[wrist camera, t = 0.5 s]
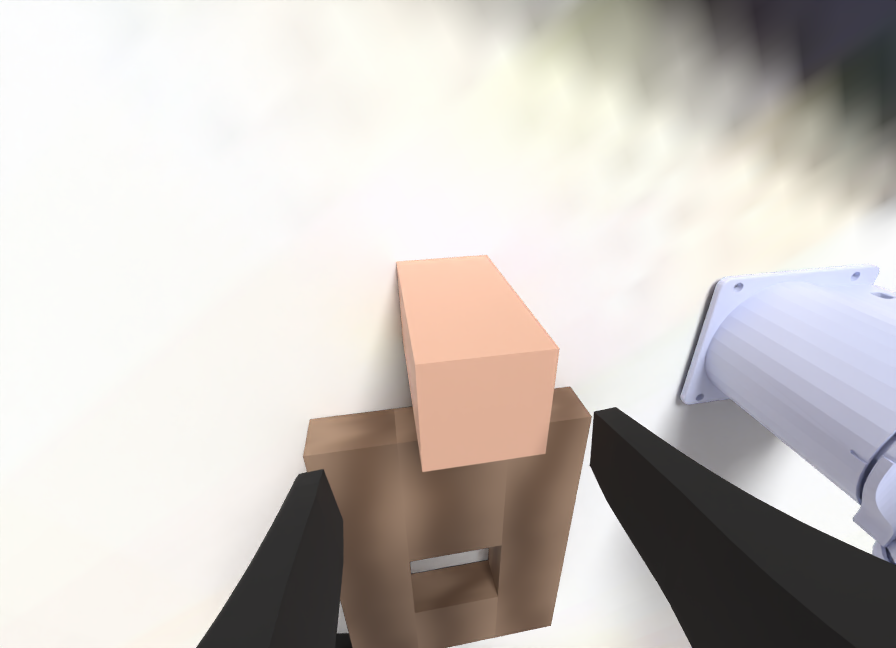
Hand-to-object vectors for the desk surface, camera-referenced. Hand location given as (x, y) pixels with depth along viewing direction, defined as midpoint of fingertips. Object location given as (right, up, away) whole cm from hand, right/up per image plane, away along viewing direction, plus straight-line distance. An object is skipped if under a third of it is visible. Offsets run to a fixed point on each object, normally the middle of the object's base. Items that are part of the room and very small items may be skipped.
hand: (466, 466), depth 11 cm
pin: (-1, +5, +8) cm, 9 cm away
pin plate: (0, -9, +16) cm, 18 cm away
